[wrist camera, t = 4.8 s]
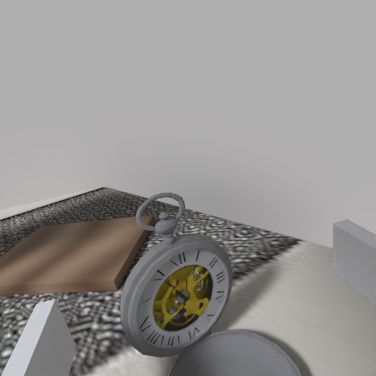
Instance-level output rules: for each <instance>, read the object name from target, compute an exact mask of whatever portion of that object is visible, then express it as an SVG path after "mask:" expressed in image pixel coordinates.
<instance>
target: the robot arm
mask: <svg viewBox="0 0 376 376" xmlns="http://www.w3.org/2000/svg"><path fill="white" fill-rule="evenodd" d="M333 225H334V226H333V227H334V228H333V271H334V272H336V273H337V274H338V275H339V276H340V277H341V278H343V279H344V280H345V281H346V282H347V283H349V284H350V285H351V286H352V287H353V288H355V289H356V290H357V291H358V292H359V293H360V294H362V295H363V296H364V297H365V298H366V299H368V300H369V301H370V302H371V303H372V304H374V305H375V306H376V235H374V234H373V233H371V232H369V231H367V230H365V229H364V228H361V227H360V226H358V225H356V224H354V223H352V222H351V221H349V220H345V221H341V222H338V223H334V224H333ZM75 348H76V345H75V343H74V341H73V339H72V336H71V334H70V332H69V329H68V327H67V325H66V322H65V320H64V318H63V316H62V313H61V311H60V309H59V306H58V304H57V302H56V300H55V299H53V300H50V301H46V302H42V303H38V304H36V306H35V308H34V310H33V312H32V314H31V316H30V318H29V320H28V322H27V324H26V326H25V329H24V331H23V333H22V335H21V337H20V339H19V341H18V343H17V345H16V347H15V349H14V351H13V353H12V355H11V357H10V359H9V361H8V363H7V365H6V367H5V369H4V371H3V373H2V375H1V376H69V372H70V368H71V364H72V360H73V356H74V352H75Z"/></svg>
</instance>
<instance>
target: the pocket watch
mask: <svg viewBox="0 0 376 376" xmlns="http://www.w3.org/2000/svg"><path fill="white" fill-rule="evenodd" d="M163 197H170V198H173V199H175V200H177V201H178V202H179V204H180V208H179V212H178V214H177V216H176V217H175V218H174V217H169V216H170V215H169V214H168V213H166V212H162V213H161V214H160V215H159V219H161V220H160V221H159V222H158V223H156V225H155V227H154V226H148V225H147V224H145V223H144V222H143V221H142V213H143V210H144V209H145V208H146V206H147V205H148V204H149V203H150V202H152V201H154V200H156V199H158V198H163ZM184 209H185V204H184V201H183V199H182V197H180V196H179V195H176V194H173V193H161V194H157V195H154V196H152V197H150V198H149V199H147V200H146V201H145V202H144V203H143V204H142V205H141V206H140V207H139V209H138V211H137V213H136V222H137V224H138V225H139V226H140V227H141V228H142V229H144V230H149V231H155V232H156V233H157V234H160V235H164V241H162V242H160V243H159V244H157V245H156V246H154V247H153V248H151V249H150V250H149V251H148V252H147V253H146V254H145V255H144V256H143V257H142V258H141V259H140V260H139V261H138V263H137V264H136V265H135V266H134V268H133V269H132V271H131V273H130V275H129V276H128V278H127V280H126V282H125V285H124V288H123V291H122V294H121V303H120V315H121V325H122V327H123V330H124V333H125V335H126V337H127V339H128V340H129V342H130V344H131V345H132V346H133V347H134V348H135V349H137V350H138V351H139V352H140V353H142V354H143V355H148V356H154V357H166V356H171V355H175V354H177V353H178V354H179V356H180V357H179V358H178V359H177V361H176V363H175V365H174V367H173V369H172V371H171V373H170V375H169V376H302V374H301V372H300V370H299V368H298V367H297V365H296V364H295V363H294V361H293V360H292V359H291V357H290V356H289V355H288V354H287V353H286V352H285V351H284V350H282V349H281V348H280V347H279V346H278V345H277V344H275V343H273V342H272V341H270V340H268V339H267V338H265V337H263V336H261V335H259V334H257V333H253V332H248V331H244V330H224V331H220V332H216V333H212V334H211V332H210V330H211V329H212V327H213V326H214V325H215V323H216V322H217V321H218V319H219V318H220V316H221V314H222V312H223V310H224V308H225V306H226V304H227V302H228V299H229V296H230V292H231V287H232V279H233V272H232V266H231V261H230V259H229V257H228V255H227V253H226V251H225V250H224V249H223V248H222V247H221V246H220V245H219V244H218V243H217V242H215V241H214V240H212V239H210V238H208V237H204V236H201V235H192V234H184V235H179V236H174V234H173V230H174V229H175V228H176V227H177V224H178V220H179V219H180V218H181V216H182V215H183V212H184ZM198 266H199V267H198ZM197 267H198V270H197V272H199V274H202V273H203V276H201V277H200V276H199V275H197V274H196V273H197V272H196V273H195V271H194V270H195V269H196V268H197ZM192 271H194V274H193V275H191V276H189V275H190V273H191V272H192ZM195 274H196V275H197V276H196V275H195ZM193 276H194V278H195V276H196V278H195V281H194V280H193V279H194V278H193ZM198 276H199V277H200V278H199V279H197V278H198ZM202 281H203V288H202V290H200V291H197V289H198V288H199V287H200V285H201V284H200V283H201V282H202ZM187 283H188V284H187ZM196 285H199V287H198V288H196ZM196 295H197V298H196ZM176 299H178V300H179V303H178V304H176V303H175V301H176ZM187 300H188V301H187ZM173 304H174V306H176V308H177V311H176V312H175V313H174V314H172V315H169V311H170V308H171V307H173ZM156 311H159V312H156ZM178 312H179V314H180V317H178V318H175V319H172V318H173V317H174V316H175V315H176V314H177V313H178ZM154 315H156V316H155V317H154ZM159 315H162V316H161V317H160V318H159V319H156V318H157V317H158V316H159ZM163 316H165V321H163V320H161V319H162V317H163Z"/></svg>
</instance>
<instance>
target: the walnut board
mask: <svg viewBox="0 0 376 376" xmlns="http://www.w3.org/2000/svg"><path fill="white" fill-rule="evenodd" d="M142 221H143V222H144V223H145V224H147V225H148V226H153V225H154V223H155V219H154V215H146V216H142ZM149 232H150V231H149V230H144V229H142V228H141V227H140V226H139V225H138V224H137V222H136V217H126V218H116V219H106V220H96V221H86V222H76V223H65V224H55V225H45V226H41V227H40V228H39V229H37V230H36V231H35V232H33V233H32V234H31V235H29V236H28V237H27V238H25V239H24V240H23V241H21V242H20V243H18V244H17V245H16V246H14V247H13V248H12V249H10V250H9V251H8V252H6V253H5V254H4V255H2V256H1V257H0V295H10V294H36V293H62V292H88V291H114V290H117V289H118V287H119V286H120V284H121V282H122V280H123V279H124V277H125V275H126V273H127V271H128V270H129V268H130V266H131V264H132V262H133V261H134V259H135V257H136V255H137V254H138V252H139V250H140V248H141V246H142V245H143V243H144V241H145V239H146V237H147V236H148V234H149Z"/></svg>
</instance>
